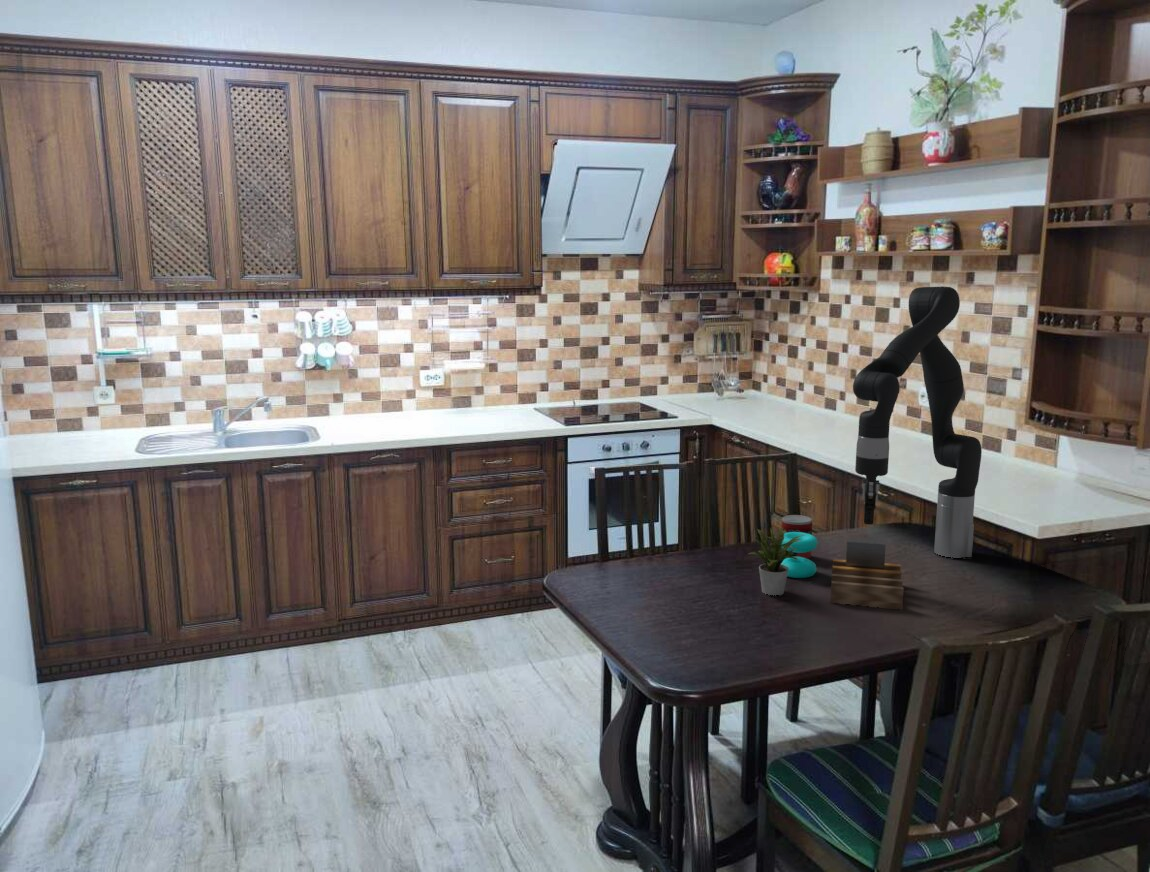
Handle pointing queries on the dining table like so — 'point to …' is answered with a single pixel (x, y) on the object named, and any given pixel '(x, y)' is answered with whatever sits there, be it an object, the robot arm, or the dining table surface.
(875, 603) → the slotted rack
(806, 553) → the canned food
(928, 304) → the robot arm
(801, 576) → the turquoise curved double lobe
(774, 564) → the house plant
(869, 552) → the metal panel
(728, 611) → the dining table surface
